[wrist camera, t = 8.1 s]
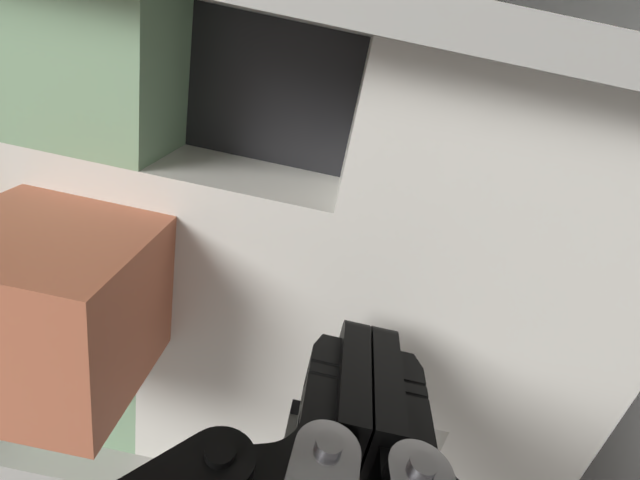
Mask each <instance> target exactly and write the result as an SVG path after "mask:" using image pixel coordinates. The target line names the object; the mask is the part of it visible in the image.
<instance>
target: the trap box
mask: <svg viewBox="0 0 640 480" xmlns="http://www.w3.org/2000/svg"><path fill="white" fill-rule="evenodd" d="M21 184H26V185H31V186H36V187H40V188H45V189H50V190H55V191H59V192H64V193H69V194H73V195H78V196H83V197H88V198H92V199H97V200H102V201H107V202H111V203H116V204H121V205H125V206H130V207H135V208H140V209H144V210H149V211H154V212H159V213H163V214H168V215H173V216H177V221H176V241H175V260H174V279H173V299H172V318H171V338H170V342H169V343H168V345H167V346H166V348H165V350H164V351H163V353H162V354H161V356H160V357H159V359H158V360H157V362H156V364H155V365H154V367H153V368H152V370H151V371H150V373H149V375H148V376H147V378H146V379H145V381H144V382H143V384H142V385H141V387H140V389H139V390H138V392H137V393H136V395H135V396H134V398H133V400H132V401H131V403H130V404H129V406H128V407H127V409H126V410H125V412H124V414H123V415H122V417H121V418H120V420H119V421H118V423H117V425H116V426H115V428H114V429H113V431H112V432H111V434H110V435H109V437H108V439H107V440H106V442H105V443H104V445H103V446H102V448H101V450H100V451H99V453H98V454H97V456H96V457H95V459H94V460H92V459H87V458H82V457H78V456H73V455H68V454H63V453H59V452H54V451H49V450H45V449H40V448H35V447H30V446H26V445H21V444H16V443H11V442H7V441H2V440H0V480H117V479H119V478H121V477H122V476H124V475H126V474H128V473H129V472H131V471H133V470H134V469H136V468H138V467H140V466H141V465H143V464H145V463H146V462H148V461H150V460H152V459H153V458H155V457H157V456H158V455H160V454H162V453H164V452H165V451H167V450H169V449H170V448H172V447H174V446H176V445H177V444H179V443H181V442H182V441H184V440H186V439H188V438H189V437H191V436H193V435H194V434H196V433H198V432H200V431H202V430H204V429H206V428H209V427H214V426H228V427H232V428H235V429H238V430H240V431H241V432H243V433H245V434H246V435H247V436H248V437H249V438H250V440H251V441H252V443H253V444H261V443H271V442H276V441H279V440H282V439H284V438H286V437H287V436H289V435H290V434H291V433H292V432H293V431H294V430H295V429H296V424H297V419H298V414H299V408H300V402H301V396H302V391H303V385H304V381H305V377H306V373H307V369H308V364H309V360H310V356H311V352H312V348H313V344H314V343H315V342H316V341H317V340H318V339H319V338H320V336H321V335H322V334H326V335H331V336H335V337H339V336H340V332H341V329H342V325H343V322H344V320H348V321H353V322H357V323H362V324H366V325H370V326H376V327H380V328H385V329H389V330H394V331H398V333H399V341H400V349H401V351H404V352H408V353H413V354H414V355H415V356H416V358H417V359H418V361H419V362H420V364H421V365H422V367H423V368H424V374H425V379H426V387H427V391H428V396H429V397H428V400H429V402H430V407H431V413H432V419H433V424H434V430H435V435H436V441H437V447H438V450H439V451H440V452H441V453H442V454H443V455H444V456H445V457H446V458H447V460H448V461H449V463H450V464H451V466H452V468H453V471H454V474H455V476H456V477H457V478H458V479H459V480H580V478H581V477H582V475H583V474H584V472H585V471H586V469H587V468H588V467H589V465H590V464H591V462H592V461H593V459H594V458H595V456H596V455H597V453H598V452H599V450H600V449H601V448H602V446H603V445H604V443H605V442H606V440H607V439H608V437H609V436H610V434H611V433H612V431H613V430H614V428H615V427H616V426H617V424H618V423H619V421H620V420H621V418H622V417H623V415H624V414H625V412H626V411H627V409H628V408H629V407H630V405H631V404H632V402H633V401H634V399H635V398H636V396H637V395H638V393H639V392H640V31H636V30H631V29H626V28H622V27H617V26H612V25H608V24H603V23H598V22H594V21H589V20H584V19H580V18H575V17H570V16H566V15H561V14H556V13H552V12H547V11H542V10H538V9H533V8H528V7H523V6H519V5H514V4H509V3H505V2H500V1H495V0H0V193H2V192H4V191H6V190H9V189H11V188H14V187H16V186H18V185H21Z"/></svg>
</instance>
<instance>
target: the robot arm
mask: <svg viewBox="0 0 640 480" xmlns="http://www.w3.org/2000/svg"><path fill="white" fill-rule="evenodd" d="M428 397H429V396H428V391H427V387H426V379H425V374H424V368H423V367H422V365H421V364H420V362H419V361H418V359H417V358H416V356H415V355H414V354H413V353H408V352H404V351H401V349H400V341H399V333H398V331H394V330H389V329H385V328H380V327H376V326H370V325H366V324H362V323H357V322H353V321H348V320H344V322H343V325H342V329H341V332H340V336H339V337H335V336H331V335H326V334H322V335H321V336H320V338H319V339H318V340H317V341H316V342H315V343H314V344H313V348H312V352H311V356H310V360H309V364H308V369H307V373H306V377H305V381H304V385H303V391H302V396H301V402H300V408H299V414H298V419H297V424H296V429H295V430H294V431H293V432H292V433H291V434H290V435H289V436H287V437H286V438H284V439H282V440H279V441H276V442H271V443H261V444H253V443H252V441H251V440H250V438H249V437H248V436H247V435H246V434H245V433H243V432H241V431H240V430H238V429H235V428H232V427H228V426H214V427H209V428H206V429H204V430H202V431H200V432H198V433H196V434H194V435H193V436H191V437H189V438H188V439H186V440H184V441H182V442H181V443H179V444H177V445H176V446H174V447H172V448H170V449H169V450H167V451H165V452H164V453H162V454H160V455H158V456H157V457H155V458H153V459H152V460H150V461H148V462H146V463H145V464H143V465H141V466H140V467H138V468H136V469H134V470H133V471H131V472H129V473H128V474H126V475H124V476H122V477H121V478H119V479H117V480H459V479H458V478H457V477H456V476H455V474H454V471H453V468H452V466H451V464H450V463H449V461H448V460H447V458H446V457H445V456H444V455H443V454H442V453H441V452H440V451H439V450H438V447H437V441H436V435H435V430H434V424H433V419H432V413H431V407H430V402H429V400H428Z"/></svg>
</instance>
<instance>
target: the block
mask: <svg viewBox="0 0 640 480" xmlns="http://www.w3.org/2000/svg"><path fill="white" fill-rule="evenodd" d="M176 221H177V216H173V215H168V214H163V213H159V212H154V211H149V210H144V209H140V208H135V207H130V206H125V205H121V204H116V203H111V202H107V201H102V200H97V199H92V198H88V197H83V196H78V195H73V194H69V193H64V192H59V191H55V190H50V189H45V188H40V187H36V186H31V185H26V184H21V185H18V186H16V187H14V188H11V189H9V190H6V191H4V192H2V193H0V440H2V441H7V442H11V443H16V444H21V445H26V446H30V447H35V448H40V449H45V450H49V451H54V452H59V453H63V454H68V455H73V456H78V457H82V458H87V459H92V460H94V459H95V457H96V456H97V454H98V453H99V451H100V450H101V448H102V446H103V445H104V443H105V442H106V440H107V439H108V437H109V435H110V434H111V432H112V431H113V429H114V428H115V426H116V425H117V423H118V421H119V420H120V418H121V417H122V415H123V414H124V412H125V410H126V409H127V407H128V406H129V404H130V403H131V401H132V400H133V398H134V396H135V395H136V393H137V392H138V390H139V389H140V387H141V385H142V384H143V382H144V381H145V379H146V378H147V376H148V375H149V373H150V371H151V370H152V368H153V367H154V365H155V364H156V362H157V360H158V359H159V357H160V356H161V354H162V353H163V351H164V350H165V348H166V346H167V345H168V343H169V342H170V338H171V318H172V299H173V279H174V260H175V241H176Z"/></svg>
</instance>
